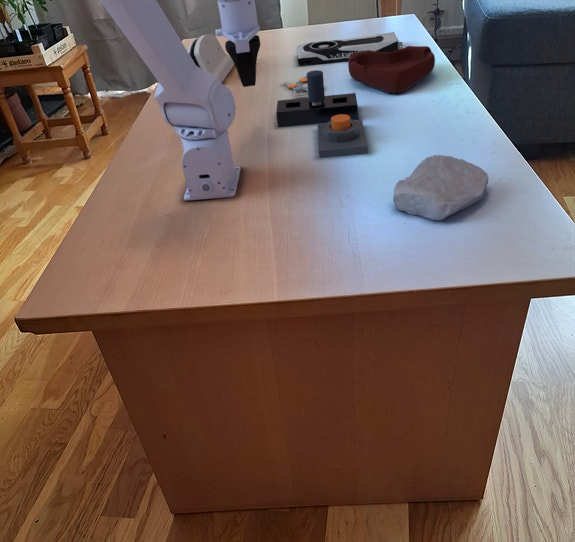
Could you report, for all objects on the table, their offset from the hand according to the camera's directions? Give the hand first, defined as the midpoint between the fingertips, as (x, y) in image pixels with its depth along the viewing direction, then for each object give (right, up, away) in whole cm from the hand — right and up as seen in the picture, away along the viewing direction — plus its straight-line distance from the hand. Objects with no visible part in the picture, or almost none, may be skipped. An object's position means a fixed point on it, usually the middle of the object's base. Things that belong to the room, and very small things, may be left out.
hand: (249, 85), depth 93 cm
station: (+16, -9, +2) cm, 18 cm away
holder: (+12, -2, +12) cm, 18 cm away
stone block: (+28, -22, -16) cm, 39 cm away
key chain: (+10, +9, +27) cm, 30 cm away
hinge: (-12, +16, +41) cm, 45 cm away
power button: (+16, -7, +1) cm, 17 cm away
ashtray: (+29, +8, +23) cm, 38 cm away
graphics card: (+21, +21, +42) cm, 52 cm away
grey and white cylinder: (+12, -2, +12) cm, 18 cm away
